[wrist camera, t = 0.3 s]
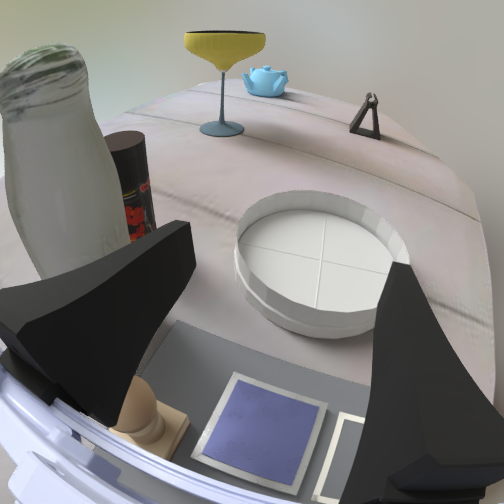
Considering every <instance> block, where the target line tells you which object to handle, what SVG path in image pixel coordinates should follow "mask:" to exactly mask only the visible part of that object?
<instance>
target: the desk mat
mask: <svg viewBox="0 0 504 504" xmlns="http://www.w3.org/2000/svg"><path fill="white" fill-rule="evenodd" d="M233 372H237V373H239V374H242V375H245V376H247V377H250V378H253V379H255V380H258V381H261V382H264V383H266V384H269V385H272V386H275V387H278V388H281V389H284V390H287V391H290V392H293V393H296V394H299V395H302V396H305V397H309V398H312V399H315V400H318V401H322V402H325V403H328V406H327V409H326V413H325V416H324V419H323V422H322V425H321V429H320V432H319V435H318V438H317V441H316V444H315V447H314V449H313V452H312V455H311V458H310V461H309V464H308V466H307V469H306V472H305V474H304V477H303V480H302V482H301V485H300V488H299V490H298V493H297V495H296V496H292V495H288V494H285V493H281V492H278V491H275V490H271V489H268V488H265V487H262V486H259V485H256V484H253V483H250V482H247V481H244V480H242V479H239V478H236V477H234V476H231V475H228V474H226V473H223V472H221V471H218V470H216V469H213V468H211V467H209V466H206V465H204V464H202V463H199V462H197V461H195V460H193V459H191V457H190V456H191V455H192V453H193V451H194V449H195V447H196V445H197V443H198V441H199V439H200V437H201V435H202V434H203V432H204V430H205V428H206V426H207V424H208V422H209V420H210V418H211V416H212V414H213V412H214V410H215V408H216V406H217V404H218V402H219V400H220V398H221V396H222V394H223V392H224V390H225V388H226V386H227V384H228V382H229V380H230V378H231V376H232V374H233ZM140 378H142V379H143V380H144V381H145V382H146V383H147V384H148V385H149V386H150V388H151V390H152V391H153V393H154V395H155V398H156V400H158V401H160V402H162V403H164V404H166V405H168V406H170V407H172V408H174V409H176V410H178V411H180V412H182V413H184V414H186V415H187V416H188V418H189V421H190V423H191V425H190V427H189V428H188V430H187V432H186V434H185V436H184V438H183V439H182V441H181V443H180V445H179V447H178V449H177V450H176V452H175V454H174V456H173V458H172V460H171V461H170V462H172V463H174V464H176V465H178V466H181V467H183V468H186V469H188V470H191V471H193V472H196V473H198V474H201V475H203V476H206V477H209V478H211V479H214V480H217V481H220V482H223V483H226V484H229V485H232V486H235V487H238V488H241V489H245V490H248V491H251V492H255V493H258V494H262V495H266V496H270V497H274V498H278V499H282V500H286V501H291V502H295V503H300V504H338V503H339V501H340V498H341V496H342V493H343V491H344V488H345V485H346V482H347V480H348V477H349V474H350V471H351V468H352V465H353V462H354V459H355V455H356V452H357V449H358V445H359V441H360V438H361V434H362V430H363V426H364V421H365V417H366V412H367V408H368V403H369V397H370V390H371V387H369V386H365V385H361V384H358V383H354V382H351V381H347V380H344V379H340V378H337V377H334V376H330V375H327V374H324V373H320V372H317V371H314V370H311V369H308V368H305V367H302V366H298V365H295V364H292V363H289V362H286V361H283V360H281V359H278V358H275V357H272V356H269V355H266V354H263V353H261V352H258V351H255V350H252V349H250V348H247V347H244V346H241V345H239V344H236V343H233V342H231V341H228V340H226V339H223V338H221V337H218V336H215V335H213V334H210V333H208V332H205V331H203V330H201V329H198V328H196V327H193V326H191V325H188V324H186V323H184V322H181V321H179V320H177V321H176V322H175V324H174V325H173V327H172V328H171V330H170V331H169V333H168V334H167V336H166V337H165V339H164V340H163V342H162V343H161V345H160V346H159V348H158V349H157V351H156V352H155V354H154V355H153V357H152V359H151V360H150V362H149V363H148V365H147V366H146V368H145V369H144V371H143V372H142V374H141V375H140ZM109 429H110V428H109V427H107V430H109ZM93 452H95V453H96V454H98V455H99V456H101V457H102V458H104V459H105V460H107V461H108V462H110V463H112V464H113V465H115V466H117V467H118V468H120V469H121V471H122V472H121V474H120V475H119V477H118V479H117V481H118V482H120V483H122V484H124V485H126V486H128V487H129V488H131V489H133V490H135V491H137V492H139V493H141V494H143V495H145V496H147V497H149V498H151V499H153V500H155V501H157V502H159V503H162V504H216V503H213V502H210V501H207V500H205V499H202V498H199V497H197V496H194V495H192V494H189V493H187V492H184V491H182V490H180V489H177V488H175V487H173V486H171V485H168V484H166V483H164V482H162V481H160V480H158V479H155V478H153V477H151V476H149V475H147V474H145V473H143V472H141V471H139V470H138V469H136V468H134V467H132V466H130V465H128V464H126V463H125V462H123V461H121V460H119V459H117V458H116V457H114V456H112V455H111V454H109V453H107V452H105V451H104V450H102V449H101V448H99V447H97V446H95V448H94V449H93Z"/></svg>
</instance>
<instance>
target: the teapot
mask: <svg viewBox="0 0 504 504" xmlns="http://www.w3.org/2000/svg"><path fill="white" fill-rule="evenodd" d="M263 68H264V69H256V70H255V68H250V75H251V76H250V77H249V76H248V74H247V73H243V74H242V76H243V80H244V83H245V86H246V89H247V90H248V92H249V93H250V94H253V95H256V96H263V97H277V96H280V95H281V94H282V93H283V92H284V85H285V84H286V83H287V82H288V78H287V72H286V71H284V70H282V71H275V70H270V68H271V67H270V66H263ZM280 75H281V76H280Z"/></svg>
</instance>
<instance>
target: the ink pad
mask: <svg viewBox="0 0 504 504" xmlns="http://www.w3.org/2000/svg"><path fill="white" fill-rule="evenodd" d="M327 406H328V403H325V402H322V401H318V400H315V399H312V398H309V397H305V396H302V395H299V394H296V393H293V392H290V391H287V390H284V389H281V388H278V387H275V386H272V385H269V384H266V383H264V382H261V381H258V380H255V379H253V378H250V377H247V376H245V375H242V374H239V373H237V372H233V374H232V376H231V378H230V380H229V382H228V384H227V386H226V388H225V390H224V392H223V394H222V396H221V398H220V400H219V402H218V404H217V406H216V408H215V410H214V412H213V414H212V416H211V418H210V420H209V422H208V424H207V426H206V428H205V430H204V432H203V434H202V435H201V437H200V439H199V441H198V443H197V445H196V447H195V449H194V451H193V453H192V455H191V456H190V457H191V459H193V460H195V461H197V462H199V463H202V464H204V465H206V466H209V467H211V468H213V469H216V470H218V471H221V472H223V473H226V474H228V475H231V476H234V477H236V478H239V479H242V480H244V481H247V482H250V483H253V484H256V485H259V486H262V487H265V488H268V489H271V490H275V491H278V492H281V493H285V494H288V495H292V496H296V495H297V493H298V490H299V488H300V485H301V482H302V480H303V477H304V474H305V472H306V469H307V466H308V464H309V461H310V458H311V455H312V452H313V449H314V447H315V444H316V441H317V438H318V435H319V432H320V429H321V425H322V422H323V419H324V416H325V413H326V409H327Z"/></svg>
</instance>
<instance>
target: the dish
mask: <svg viewBox="0 0 504 504" xmlns="http://www.w3.org/2000/svg"><path fill="white" fill-rule="evenodd" d="M393 261H395V262H400V263H404V264H409V265H410V261H409V255H408V252H407V249H406V247H405V244H404V242H403V240H402V239H401V237H400V236H399V234H398V233H397V232H396V230H395V229H394V228H393V227H392V226H391V225H390V224H389V223H388V222H387V221H386V220H385V219H384V218H383V217H382V216H380V215H379V214H377V213H375V212H374V211H372V210H371V209H369V208H368V207H366V206H364V205H362V204H360V203H358V202H355V201H353V200H351V199H349V198H345V197H342V196H339V195H335V194H332V193H326V192H319V191H312V190H304V191H288V192H282V193H276V194H274V195H271V196H269V197H266V198H264V199H261V200H260V201H258V202H257V203H255V204H254V205H253V206H251V207H250V208H248V210H247V211H246V212H245V214H244V215H243V217H242V218H241V219H240V221H239V225H238V230H237V234H236V246H235V251H234V269H235V276H236V281H237V283H238V285H239V287H240V289H241V291H242V293H243V295H244V296H245V298H246V300H247V301H248V302H249V303H250V304H251V305H252V306H253V307H254V308H255V309H256V310H257V311H258V312H259V313H260V314H261V315H262V316H264V317H266V318H267V319H269V320H271V321H272V322H274V323H275V324H277V325H279V326H280V327H282V328H284V329H286V330H289V331H292V332H295V333H298V334H302V335H305V336H308V337H314V338H326V339H340V338H346V337H351V336H357V335H360V334H362V333H364V332H366V331H369V330H371V329H373V328H374V326H375V318H376V311H377V304H378V301H379V299H380V296H381V293H382V291H383V288H384V285H385V282H386V279H387V276H388V274H389V271H390V268H391V265H392V262H393Z"/></svg>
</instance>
